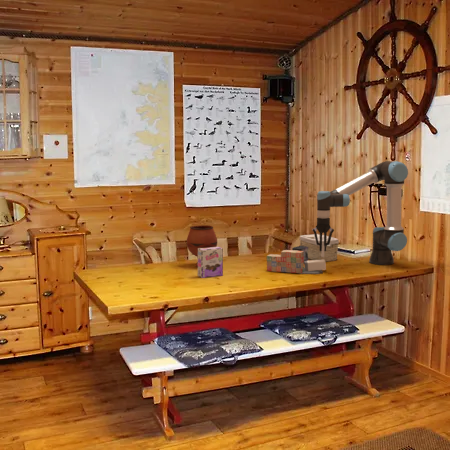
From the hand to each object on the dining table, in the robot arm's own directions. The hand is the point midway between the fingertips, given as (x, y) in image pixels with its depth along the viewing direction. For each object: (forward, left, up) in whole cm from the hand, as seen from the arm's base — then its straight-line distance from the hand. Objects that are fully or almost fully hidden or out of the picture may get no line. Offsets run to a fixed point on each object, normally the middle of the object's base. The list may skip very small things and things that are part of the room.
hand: (322, 256), depth 344 cm
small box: (+11, -24, -9) cm, 28 cm away
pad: (+8, 0, -9) cm, 12 cm away
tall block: (-1, 0, -5) cm, 5 cm away
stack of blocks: (+22, +2, -9) cm, 24 cm away
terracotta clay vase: (+73, -14, -9) cm, 75 cm away
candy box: (+66, +14, -9) cm, 68 cm away
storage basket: (-2, -39, -9) cm, 40 cm away
